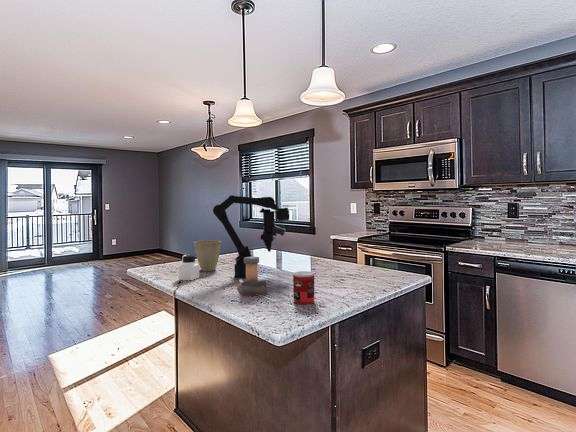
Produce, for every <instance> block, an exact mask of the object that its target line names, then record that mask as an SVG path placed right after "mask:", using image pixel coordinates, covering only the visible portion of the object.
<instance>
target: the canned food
mask: <svg viewBox="0 0 576 432" xmlns="http://www.w3.org/2000/svg"><path fill="white" fill-rule="evenodd" d="M292 283H293V284H292V285H293V286H292V287H293V288H292V290H293V292H292V294H293V302H294V303H295V304H297V305H311V304H314V302H315V273H314V272H313V271H309V270H308V271H306V270H303V271H302V270H301V271H300V270H299V271H296V272H293V274H292Z"/></svg>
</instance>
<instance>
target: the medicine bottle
mask: <svg viewBox="0 0 576 432" xmlns="http://www.w3.org/2000/svg"><path fill="white" fill-rule="evenodd" d="M181 258H182V259H181V261H182V263H181V264H180V265H178V281H185V280H192V281H195V280H197V279H199V278H200V265H199V263H196V256H195V255H194V254H185V255H182V257H181ZM196 278H197V279H196ZM194 279H195V280H194Z"/></svg>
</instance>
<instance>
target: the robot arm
mask: <svg viewBox="0 0 576 432" xmlns="http://www.w3.org/2000/svg"><path fill="white" fill-rule="evenodd" d="M233 204H241V205H243V204H244V205H254V206H258V207H262V208H261V209H260V210H259V213H260V214H262V217H263V218H262V227H263V231H262V234H261V235H260V240H261V241H263V243H264V246H265V247H266V249H267V252H268V253H269V252H271V251H272V247H273V241H274V240H275V239H276V237H277V236H278V235H280V236H283V237H284V236H285V233H286V231H287V230H286V228H285V225H280V226H277V225H276V223H275V220H277V222H283V221H284V222H287V221H290V212H289V208H288V207H278V205H276V201H275V199H274V198H273V197H272V196H262V197H252V196H251V197H249V196H240V195H239V196H238V195H234V194H233V195H232V194H231V195H229V196H228V197H227V198H225V200H224V201H222V202H221V203H220V204H219V203H218V204H216V205H214V206H213V208H212V212H213V214H214V215H215V217H216V218H217V219H218V220H219V221H220V223H221V224H222V225H223V227H224V229H225V231H226V233H227V234H228V235H229V237H230V239H231V241H232V243H233V245H234V246H235V248H236V251H237V256H236V258H235V259H234V262H235V264H234V276H233V278H246V264H245V263H244V258H245V257H252V254H251V253H252V251H251V250H250V249H249V246H248V244H244V243H243V242H242V241H241V239H240V237H239V236H238V233H237V231H235V229H234V227H233V226H232V224H231V222H230V220H229V217H228V215H227V211H226V210H227V209H229V208H230V206H232V205H233ZM272 210H273V211H272Z"/></svg>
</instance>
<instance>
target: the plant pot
mask: <svg viewBox="0 0 576 432" xmlns="http://www.w3.org/2000/svg"><path fill="white" fill-rule="evenodd" d="M193 246H194V247H193V248H194V252H195V255H196V256H195V257H196V258H197V261H198V264H199V269H200V270H201V271H202V270H203V271H202V272H212V270H213V271H215V270H216V268H217V265H218V261H219V258H220V254H221V247H222V240H218V239H208V240H207V239H203V240H196V241H193Z"/></svg>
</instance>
